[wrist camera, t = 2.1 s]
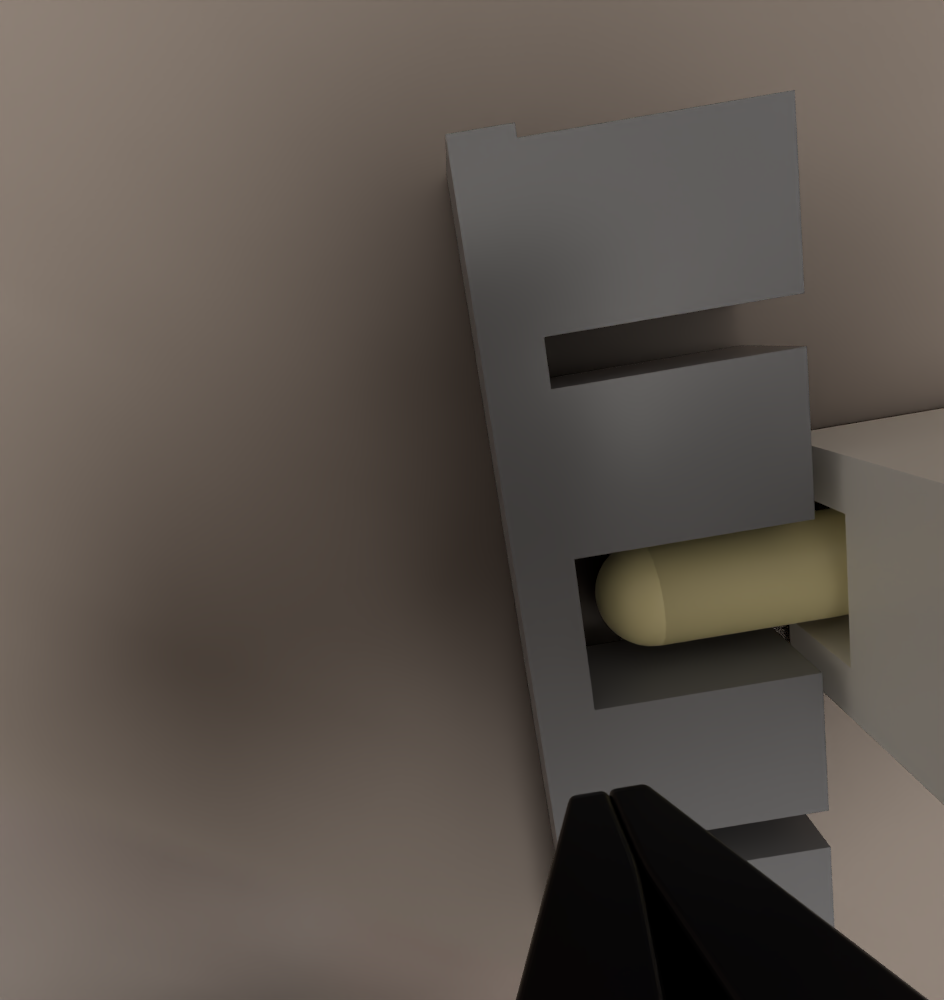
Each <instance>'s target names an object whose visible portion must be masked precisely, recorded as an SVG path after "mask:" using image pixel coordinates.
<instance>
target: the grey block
mask: <svg viewBox="0 0 944 1000" xmlns="http://www.w3.org/2000/svg"><path fill="white" fill-rule="evenodd" d="M811 445H812V466H813V487H814V501H816V502H819V503H821V504H823V505H825V506H828V507H830V508H832V509H835V510H837V511H839V512H841V513H844V514H845V522H846V550H847V577H848V605H849V615H843V616H837V617H831V618H825V619H819V620H813V621H807V622H801V623H795V624H789V628H790V644H791V645H792V646H793V647H794V648H795V649H796V650H797V651H798V652H799V653H801V654H802V655H803V656H804V657H805V658H806V659H807V660H808V661H810V662H811V663H812V664H813V665H814V666H815V667H816V668H817V669H819V670H820V671H821V672H822V678H823V692H824V693H825V694H826V695H828V696H829V697H830V698H831V699H832V700H833V701H834V702H835V703H836V704H837V705H838V706H839V707H840V708H841V709H842V710H844V711H845V712H846V713H847V714H848V715H849V716H850V717H851V718H852V719H853V720H854V721H855V722H856V723H857V724H858V725H859V726H861V727H862V728H863V729H864V730H865V731H866V732H867V733H868V734H869V735H870V736H871V737H872V738H873V739H874V740H875V741H877V742H878V743H879V744H880V745H881V746H882V747H883V748H884V749H885V750H886V751H887V752H888V753H889V754H890V755H891V756H892V757H894V758H895V759H896V760H897V761H898V762H899V763H900V764H901V765H902V766H903V767H904V768H905V769H906V770H907V771H908V772H910V773H911V774H912V775H913V776H914V777H915V778H916V779H917V780H918V781H919V782H920V783H921V784H922V785H923V786H924V787H925V788H927V789H928V790H929V791H930V792H931V793H932V794H933V795H934V796H935V797H936V798H937V799H938V800H939V801H940V802H941V803H942V804H944V408H942V409H936V410H930V411H924V412H918V413H912V414H906V415H900V416H895V417H889V418H883V419H877V420H871V421H865V422H859V423H853V424H847V425H841V426H835V427H829V428H823V429H817V430H811Z"/></svg>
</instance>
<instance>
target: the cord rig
mask: <svg viewBox="0 0 944 1000" xmlns="http://www.w3.org/2000/svg"><path fill="white" fill-rule="evenodd" d="M445 138H446V175H447V181H448V188H449V194H450V200H451V206H452V213H453V219H454V225H455V231H456V238H457V244H458V250H459V256H460V263H461V269H462V275H463V281H464V288H465V294H466V300H467V306H468V313H469V319H470V325H471V331H472V338H473V344H474V350H475V356H476V363H477V369H478V375H479V381H480V388H481V394H482V400H483V406H484V413H485V419H486V425H487V431H488V438H489V444H490V450H491V456H492V463H493V469H494V475H495V481H496V488H497V494H498V500H499V506H500V513H501V519H502V525H503V531H504V538H505V544H506V550H507V557H508V563H509V569H510V575H511V582H512V588H513V594H514V600H515V607H516V613H517V619H518V625H519V632H520V638H521V644H522V650H523V657H524V663H525V669H526V675H527V682H528V688H529V694H530V700H531V707H532V713H533V719H534V725H535V732H536V738H537V744H538V750H539V757H540V763H541V769H542V775H543V782H544V788H545V794H546V800H547V807H548V813H549V819H550V825H551V832H552V838H553V844H554V850H556V846H557V842H558V838H559V834H560V831H561V827H562V823H563V819H564V816H565V812H566V808H567V804H568V801H569V799H570V798H571V797H572V796H574V795H579V794H585V793H591V792H597V791H604V792H606V793H607V794H608V795H609V794H610V791H611V790H612V789H615V788H621V787H627V786H633V785H639V784H645V785H647V786H649V787H651V788H652V789H654V790H655V791H656V792H657V793H659V794H660V795H661V796H663V797H664V798H665V799H667V800H668V801H669V802H671V803H672V804H673V805H674V806H676V807H677V808H678V809H680V810H681V811H682V812H684V813H685V814H686V815H688V816H689V817H690V818H691V819H693V820H694V821H695V822H697V823H698V824H699V825H701V826H702V827H703V828H705V829H706V830H707V831H708V832H710V833H711V834H712V835H714V836H715V837H716V838H718V839H719V840H720V841H722V842H723V843H724V844H725V845H727V846H728V847H729V848H731V849H732V850H733V851H735V852H736V853H737V854H738V855H740V856H741V857H742V858H744V859H745V860H746V861H748V862H749V863H750V864H752V865H753V866H754V867H755V868H757V869H758V870H759V871H761V872H762V873H763V874H765V875H766V876H767V877H769V878H770V879H771V880H772V881H774V882H775V883H776V884H778V885H779V886H780V887H782V888H783V889H784V890H786V891H787V892H788V893H789V894H791V895H792V896H793V897H795V898H796V899H797V900H799V901H800V902H801V903H803V904H804V905H805V906H806V907H808V908H809V909H810V910H812V911H813V912H814V913H816V914H817V915H818V916H819V917H821V918H822V919H823V920H825V921H826V922H827V923H829V924H830V925H831V926H833V927H834V911H833V890H832V869H831V847H830V846H829V844H828V843H827V842H826V840H825V839H824V838H823V836H822V835H821V834H820V832H819V831H818V830H817V828H816V827H815V826H814V824H813V823H812V822H811V820H810V819H809V818H808V816H807V815H806V814H810V813H816V812H822V811H828V810H829V805H828V784H827V763H826V742H825V720H824V699H823V678H822V672H821V671H820V670H819V669H817V668H816V667H815V666H814V665H813V664H812V663H811V662H810V661H808V660H807V659H806V658H805V657H804V656H803V655H802V654H801V653H799V652H798V651H797V650H796V649H795V648H794V647H793V646H792V645H791V644H789V643H788V642H787V641H786V640H785V639H784V638H783V637H782V636H780V635H779V634H778V633H777V632H776V631H775V630H774V629H773V628H771V627H777V626H783V625H789V624H795V623H801V622H807V621H813V620H819V619H825V618H831V617H837V616H843V615H849V605H848V577H847V550H846V522H845V514H844V513H841V512H839V511H837V510H835V509H832V508H830V509H824V510H818V511H815V508H814V487H813V466H812V445H811V424H810V402H809V381H808V360H807V346H736V347H730V348H724V349H718V350H712V351H706V352H700V353H694V354H688V355H683V356H677V357H671V358H665V359H659V360H653V361H647V362H641V363H635V364H629V365H623V366H617V367H611V368H605V369H600V370H594V371H588V372H582V373H576V374H570V375H564V376H558V377H552V378H550V377H549V370H548V363H547V355H546V348H545V340H544V337H548V336H554V335H559V334H565V333H571V332H577V331H583V330H589V329H595V328H601V327H607V326H613V325H618V324H624V323H630V322H636V321H642V320H648V319H654V318H660V317H666V316H672V315H678V314H683V313H689V312H695V311H701V310H707V309H713V308H719V307H725V306H731V305H737V304H743V303H748V302H754V301H760V300H766V299H772V298H778V297H784V296H790V295H796V294H802V293H804V275H803V254H802V233H801V212H800V191H799V169H798V148H797V127H796V106H795V90H792V91H786V92H780V93H775V94H769V95H763V96H757V97H751V98H745V99H740V100H734V101H728V102H722V103H716V104H710V105H705V106H699V107H693V108H687V109H681V110H676V111H670V112H664V113H658V114H652V115H646V116H641V117H635V118H629V119H623V120H617V121H611V122H606V123H600V124H594V125H588V126H582V127H576V128H571V129H565V130H559V131H553V132H547V133H542V134H536V135H530V136H524V137H518V138H517V134H516V127H515V123H509V124H503V125H497V126H491V127H486V128H480V129H474V130H468V131H462V132H456V133H451V134H445ZM609 553H612V554H611V555H610V556H609V557H608V558H607V559H606V561H605V562H604V563H603V565H602V567H601V568H600V570H599V573H598V576H597V580H596V586H595V598H596V603H597V607H598V610H599V612H600V614H601V616H602V618H603V620H604V621H605V623H606V624H607V625H608V626H609V628H610V629H611V630H612V631H614V632H615V633H616V634H617V635H618V636H620V637H622V638H623V639H625V640H623V641H616V642H610V643H604V644H598V645H592V646H586V642H585V635H584V628H583V620H582V613H581V606H580V598H579V591H578V584H577V576H576V569H575V561H574V559H579V558H585V557H591V556H597V555H603V554H609Z"/></svg>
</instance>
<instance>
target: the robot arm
mask: <svg viewBox="0 0 944 1000" xmlns="http://www.w3.org/2000/svg"><path fill="white" fill-rule="evenodd" d="M516 1000H928V999H927V998H925V997H924V996H923V995H921V994H920V993H919V992H917V991H916V990H915V989H914V988H912V987H911V986H910V985H908V984H907V983H906V982H904V981H903V980H902V979H900V978H899V977H898V976H897V975H895V974H894V973H893V972H891V971H890V970H889V969H887V968H886V967H885V966H884V965H882V964H881V963H880V962H878V961H877V960H876V959H874V958H873V957H872V956H870V955H869V954H868V953H867V952H865V951H864V950H863V949H861V948H860V947H859V946H857V945H856V944H855V943H853V942H852V941H851V940H850V939H848V938H847V937H846V936H844V935H843V934H842V933H840V932H839V931H838V930H836V929H835V928H834V927H833V926H831V925H830V924H829V923H827V922H826V921H825V920H823V919H822V918H821V917H819V916H818V915H817V914H816V913H814V912H813V911H812V910H810V909H809V908H808V907H806V906H805V905H804V904H803V903H801V902H800V901H799V900H797V899H796V898H795V897H793V896H792V895H791V894H789V893H788V892H787V891H786V890H784V889H783V888H782V887H780V886H779V885H778V884H776V883H775V882H774V881H772V880H771V879H770V878H769V877H767V876H766V875H765V874H763V873H762V872H761V871H759V870H758V869H757V868H755V867H754V866H753V865H752V864H750V863H749V862H748V861H746V860H745V859H744V858H742V857H741V856H740V855H738V854H737V853H736V852H735V851H733V850H732V849H731V848H729V847H728V846H727V845H725V844H724V843H723V842H722V841H720V840H719V839H718V838H716V837H715V836H714V835H712V834H711V833H710V832H708V831H707V830H706V829H705V828H703V827H702V826H701V825H699V824H698V823H697V822H695V821H694V820H693V819H691V818H690V817H689V816H688V815H686V814H685V813H684V812H682V811H681V810H680V809H678V808H677V807H676V806H674V805H673V804H672V803H671V802H669V801H668V800H667V799H665V798H664V797H663V796H661V795H660V794H659V793H657V792H656V791H655V790H654V789H652V788H651V787H649V786H647V785H645V784H639V785H633V786H627V787H621V788H615V789H612V790H611V791H610V794H609V795H608V794H607V793H606V792H604V791H597V792H591V793H585V794H579V795H574V796H572V797H571V798H570V799H569V801H568V804H567V808H566V812H565V816H564V819H563V823H562V827H561V831H560V834H559V838H558V842H557V846H556V850H555V853H554V857H553V861H552V865H551V869H550V872H549V876H548V880H547V884H546V888H545V891H544V895H543V899H542V903H541V906H540V910H539V914H538V918H537V922H536V925H535V929H534V933H533V937H532V941H531V944H530V948H529V952H528V956H527V959H526V963H525V967H524V971H523V975H522V978H521V982H520V986H519V990H518V994H517V997H516Z"/></svg>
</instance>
